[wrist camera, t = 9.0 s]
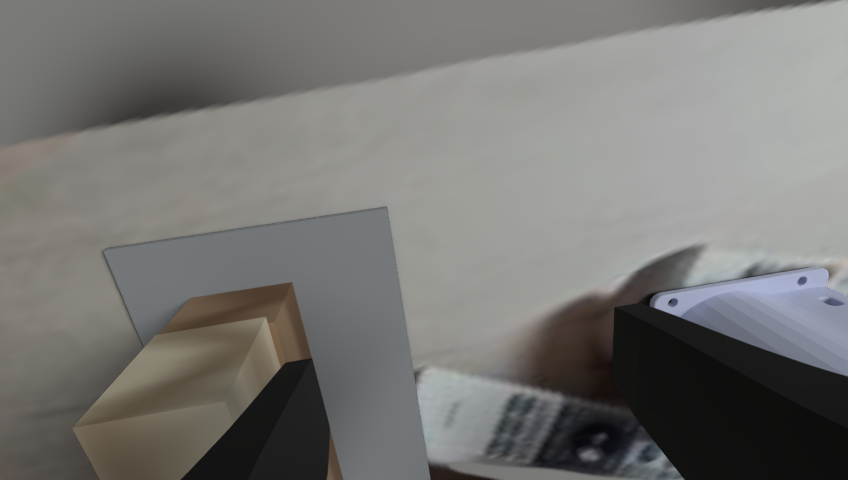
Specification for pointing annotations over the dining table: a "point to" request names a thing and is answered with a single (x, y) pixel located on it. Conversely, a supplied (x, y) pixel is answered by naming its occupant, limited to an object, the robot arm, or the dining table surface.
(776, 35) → the dining table surface
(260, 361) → the plank
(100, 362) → the dining table surface
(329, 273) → the mat
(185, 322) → the block
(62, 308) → the dining table surface
